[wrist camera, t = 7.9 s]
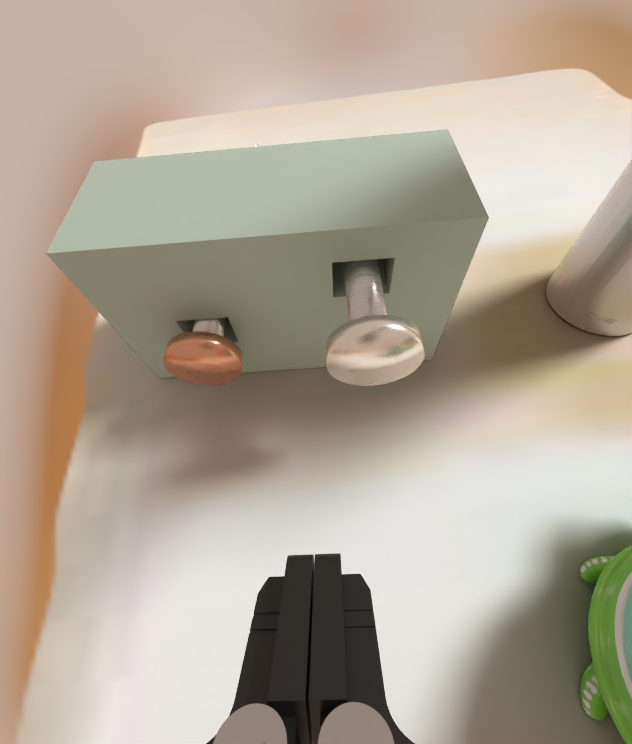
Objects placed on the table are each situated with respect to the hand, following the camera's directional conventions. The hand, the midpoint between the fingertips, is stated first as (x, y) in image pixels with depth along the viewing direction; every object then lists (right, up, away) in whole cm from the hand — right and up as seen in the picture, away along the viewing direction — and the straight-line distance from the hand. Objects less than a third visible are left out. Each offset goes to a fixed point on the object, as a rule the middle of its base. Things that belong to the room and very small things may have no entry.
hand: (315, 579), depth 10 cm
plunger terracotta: (-9, +10, +22) cm, 26 cm away
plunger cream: (+3, +11, +16) cm, 20 cm away
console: (-2, +10, +26) cm, 28 cm away
